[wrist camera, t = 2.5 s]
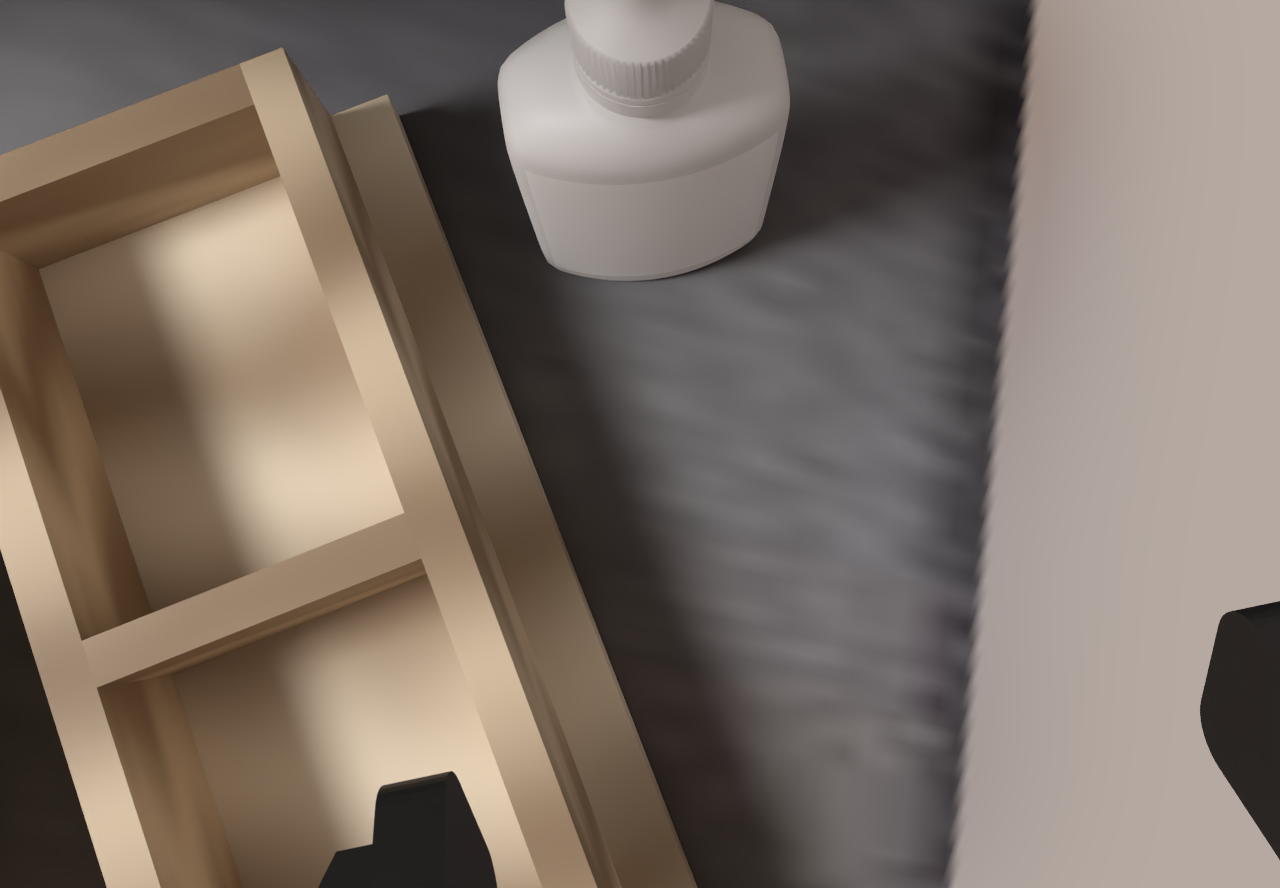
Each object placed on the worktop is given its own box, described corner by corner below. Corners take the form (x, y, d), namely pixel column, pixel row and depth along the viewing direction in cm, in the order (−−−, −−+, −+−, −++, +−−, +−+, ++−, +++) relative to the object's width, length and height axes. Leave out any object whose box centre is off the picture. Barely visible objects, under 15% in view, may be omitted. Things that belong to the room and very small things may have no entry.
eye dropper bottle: (724, 332, 28) (767, 138, 16) (515, 258, 28) (406, 16, 16) (781, 175, 28) (864, -125, 17) (576, 105, 29) (513, -238, 17)
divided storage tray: (-39, 283, 28) (-177, 222, 24) (398, 114, 29) (347, 22, 24) (236, 1144, 26) (141, 1266, 21) (719, 944, 26) (731, 1022, 21)
